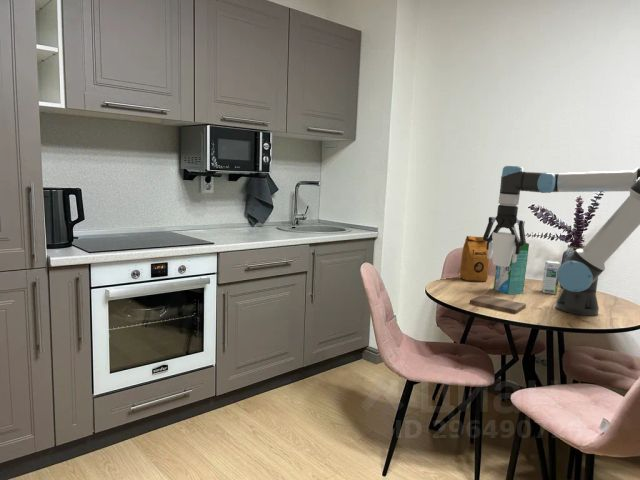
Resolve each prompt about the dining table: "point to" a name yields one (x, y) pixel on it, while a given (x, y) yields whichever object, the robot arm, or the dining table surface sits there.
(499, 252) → the foam cup
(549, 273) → the syrup box
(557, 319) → the dining table surface
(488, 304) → the walnut board
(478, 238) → the coffee package
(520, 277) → the milk carton
